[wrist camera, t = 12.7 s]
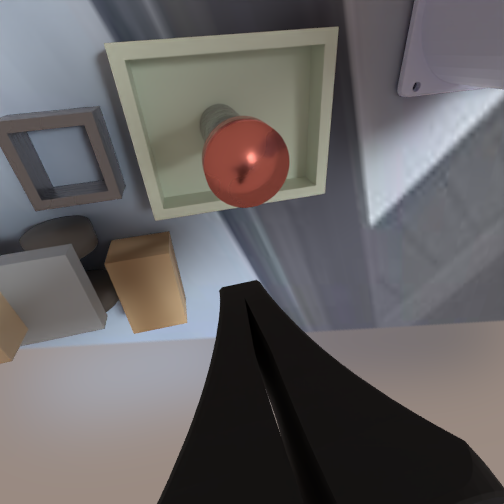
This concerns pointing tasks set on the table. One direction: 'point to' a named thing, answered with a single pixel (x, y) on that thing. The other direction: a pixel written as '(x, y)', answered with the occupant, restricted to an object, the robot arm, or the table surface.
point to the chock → (147, 281)
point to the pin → (242, 157)
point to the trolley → (52, 286)
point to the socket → (33, 173)
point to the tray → (229, 93)
